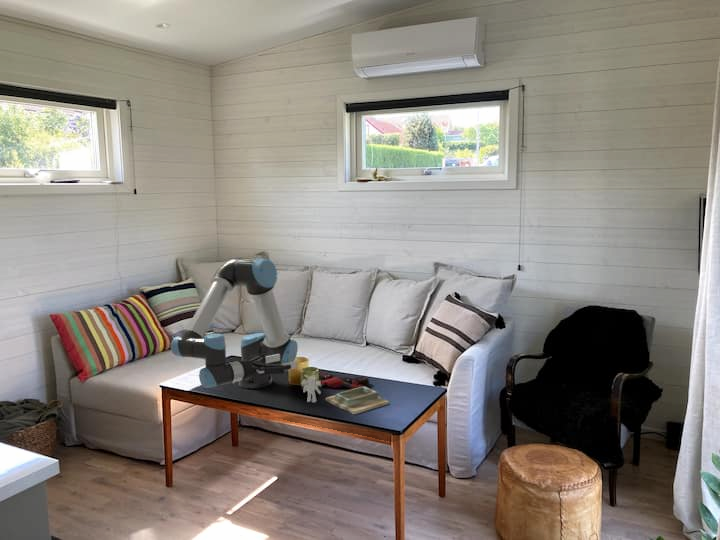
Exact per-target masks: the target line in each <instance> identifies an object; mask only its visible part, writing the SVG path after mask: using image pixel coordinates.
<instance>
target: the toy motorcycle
mask: <svg viewBox="0 0 720 540" xmlns="http://www.w3.org/2000/svg"><path fill="white" fill-rule="evenodd" d="M318 376H319V382H320V383H321V385H320V386H321V387H322V386H328V387H329V388H332V389H337V388H338V389H339V388H348V389H349V390H351V389H355V388H358V387H362V386H364V387H367V386H368V385H369V383H370V380H369V379H368V378H367V377H366V376H356V377H353V378H352V377H346V376H345V377H344V376H342V377H341V376H337V377H334V375H333V374H332V373H330V372H323V373H321V374H319V375H318ZM320 386H319V387H320Z"/></svg>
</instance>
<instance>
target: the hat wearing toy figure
mask: <svg viewBox="0 0 720 540" xmlns="http://www.w3.org/2000/svg"><path fill="white" fill-rule="evenodd" d="M303 376H304V377H305V379H302V381H301V382H300V383H301V386H303V390H302V391H303V393H306V392H307V400H306V402H307V403H317V402H318V400H317V397H316V392H317V394H318V395H321V393H322V391H321V390H320V389H319V387H320V388H321V387H322V384H321V383H320V382H319V381H318V380H316V378H315V377H313V376H312V375H310V376H309V374H303ZM320 385H321V386H320ZM310 401H311V402H310ZM316 401H317V402H316Z"/></svg>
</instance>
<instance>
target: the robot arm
mask: <svg viewBox="0 0 720 540" xmlns="http://www.w3.org/2000/svg"><path fill="white" fill-rule="evenodd" d="M277 275H278V271H277V267H276V265H275V264H274V262H272V261H271V260H270V259H267V258H262V257H259V258H249V257H246V258H245V257H235V258H232V259H230V260H227V262H225V263H224V264H222V265H221V266H220V267H219V268H218V269H217V270H216V272H215V273H214V274H213V276H212V278H211V279H210V284H211V285H210V286H209V288H208V290H207V291H206V293H205V296H204V297H203V299H202V301H201V303H200V304H199V306H198V308H197V309H196V311H195V313H194V315H193V317H192V318H191V320H190V322H189V323H188V326H187V327H186V329H185V331H184V332H183V334H182V336H181V335H180V336H175V337H174V338H173V339H172V341H171V344H170V350H171V353H172V354H173V355H174V356H176V357H182V358H193V359H201V360H204V362H205V363H204V364H205V367H203V368H200V370H199V374H198V377H199V382H200V385H201V386H202V387H203V388H207V389H208V388H214V387H215V388H216V387H218V386H222V385H226V384H227V385H228V384H235V383H236V382H238V386H239V387H241V388H243V389H248V388H249V389H250V388H251V389H252V390H253V388H254V389H255V388H256V389H263V388H266V387H268V385H269V386H270V385H272V383H273V377H272V375H277V374H278V375H279V374H281V375H283V374H285V371H291V370H295V369H297V368H298V361H297V360H296V359H297V354H298V349H299V348H298V342H297V341H296V340H295V339H291V337H290V334H289V333H288V332H287V331H285V328H284V325H283V322H282V319H281V315H280V312H279V309H278V305H277V301H276V299H275V298H276V297H275V294H274V292H273V289H274V287H275V285H276V284H277V280H278V276H277ZM238 286H242V287H243V286H244V287H245V288H246V290H247V293H248V294H249V295H250V296H252V298H253V301H254V304H255V308H256V311H257V314H258V318H259V321H260V323H261V326H262V330H263V332H257V333H250V334H247V335H245V336H243V337H242V338H241V339H240V352H241V353H240V354H241V357H240V358H241V360H239V361H237V360H236V361H232V362H227V354H226V347H227V345H226V341H225V336H224V335H223V334H222V333H210V334H209V333H208V334H207V332H208V331H209V329H210V327H211V325H212V323H213V322H214V320H215V318H216V316H217V314H218V313H219V310H220V309H221V307H222V305H223V303H224V301H225V300H226V297H227V296H228V294H229V293H232V292H233V290H234V288H235V287H238ZM262 387H263V388H262ZM251 389H250V390H251ZM256 389H255V390H256Z"/></svg>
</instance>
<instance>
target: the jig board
mask: <svg viewBox="0 0 720 540" xmlns="http://www.w3.org/2000/svg"><path fill="white" fill-rule="evenodd" d="M325 401H326V402H327V403H329V404H332V405H333V406H335V407H337V408H339V409H342V410H343V409H344V411H345V410H346V412H347V411H348V413H349V412H350V413H349V414H351V413H352V415H353V414H354V415H357V414H360V413H364V412H367V411H370V410H373V409H376V408H380V407H383V406H387V405H388V404H389V400H387V399H385V398H381V397H379V392H378V391H376V390H373V389H372V388H369V387H367V386H362V387H358V388H355V389H348V390H344V391H341V392H337V393H335V394H334V395H331V396H328V397H327V396H326V397H325Z"/></svg>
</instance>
